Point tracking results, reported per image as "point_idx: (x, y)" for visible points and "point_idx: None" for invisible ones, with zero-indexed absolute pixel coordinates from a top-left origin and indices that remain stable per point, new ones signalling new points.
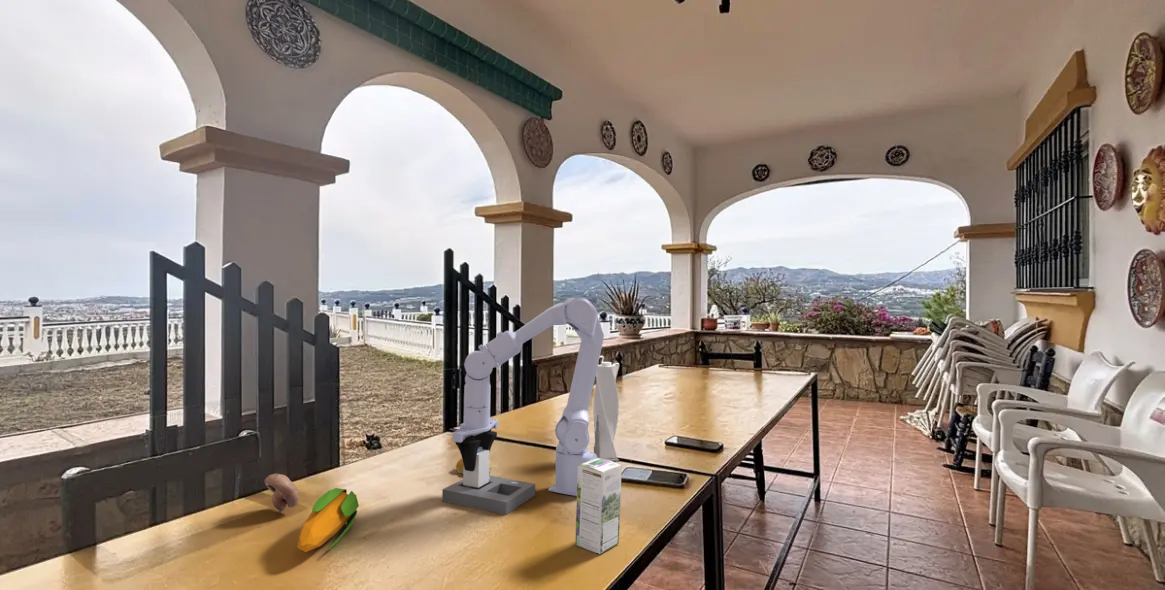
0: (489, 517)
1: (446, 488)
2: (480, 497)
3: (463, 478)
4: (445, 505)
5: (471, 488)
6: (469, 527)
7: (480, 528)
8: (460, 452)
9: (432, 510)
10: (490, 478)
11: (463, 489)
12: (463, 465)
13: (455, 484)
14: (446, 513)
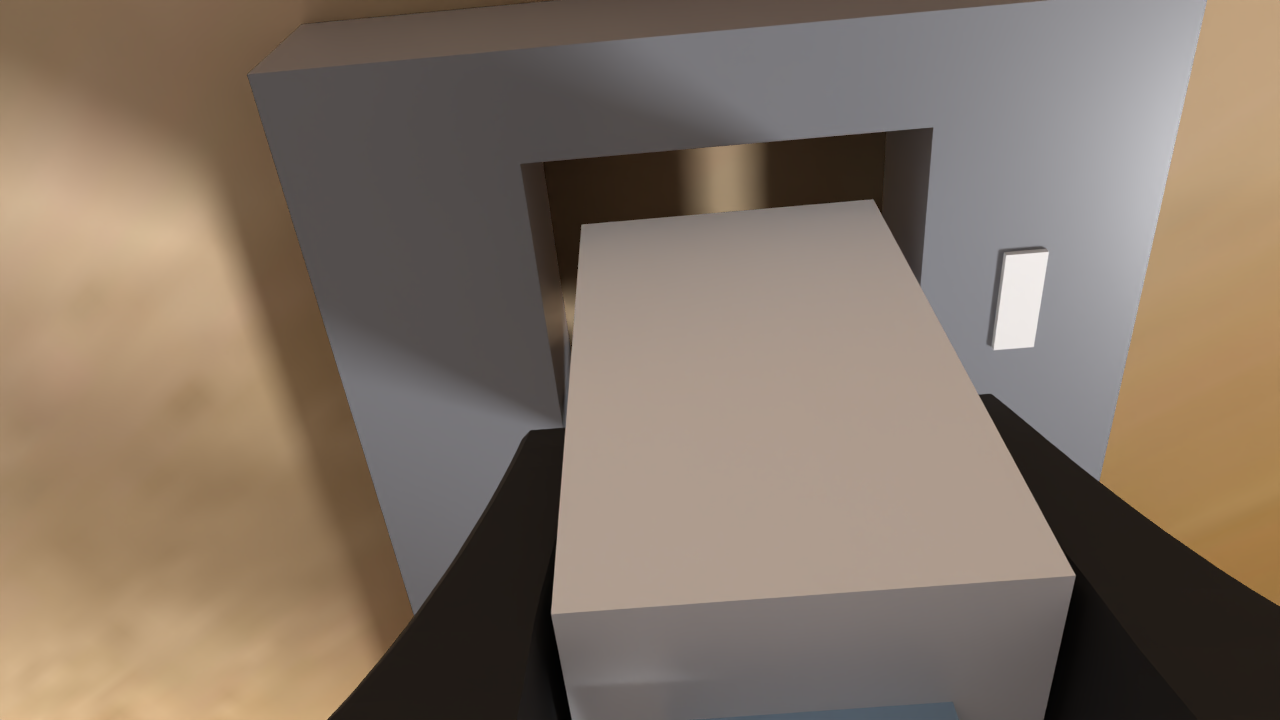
0: (359, 651)
1: (319, 102)
2: (411, 605)
3: (579, 276)
4: (246, 163)
5: (554, 388)
6: (107, 645)
7: (165, 703)
8: (349, 699)
9: (29, 140)
10: (1020, 356)
11: (459, 332)
12: (570, 399)
13: (539, 98)
14: (116, 328)
